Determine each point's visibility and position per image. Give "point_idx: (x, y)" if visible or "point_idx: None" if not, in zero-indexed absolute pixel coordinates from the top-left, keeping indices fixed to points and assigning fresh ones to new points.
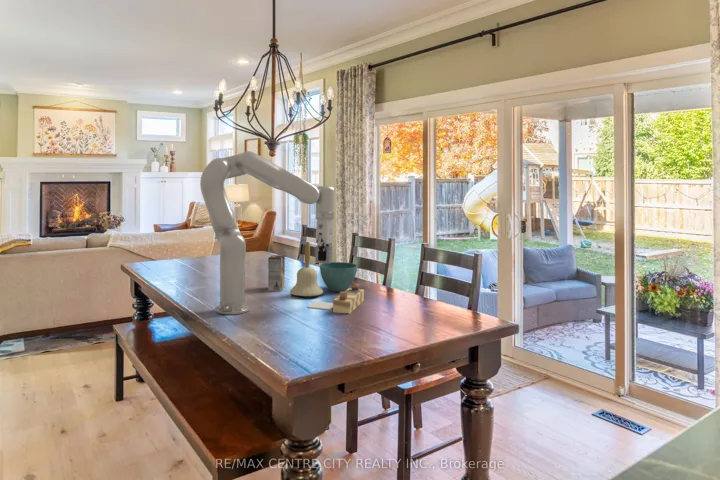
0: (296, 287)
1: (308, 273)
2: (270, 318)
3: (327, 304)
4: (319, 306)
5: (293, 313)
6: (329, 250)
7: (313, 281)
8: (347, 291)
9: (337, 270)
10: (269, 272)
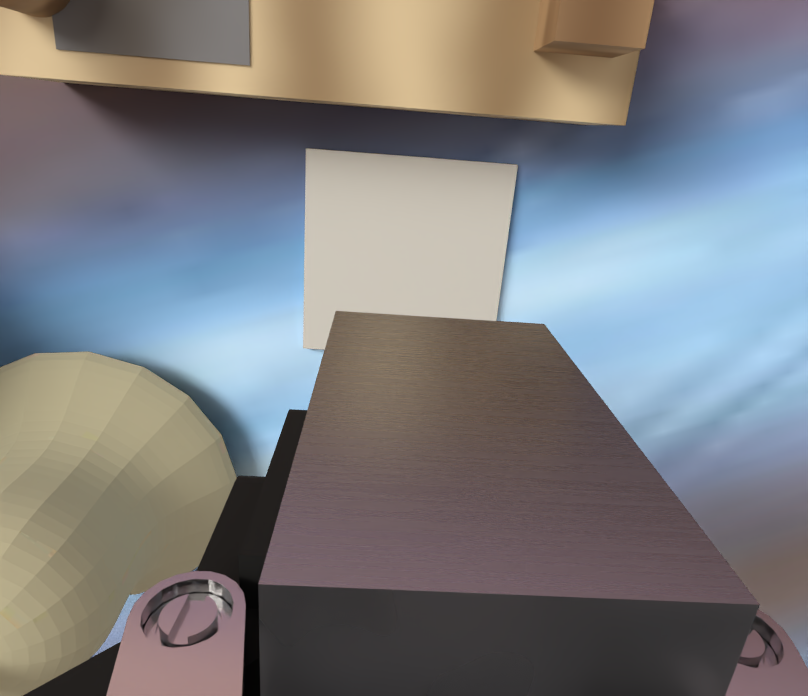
0: (164, 566)
1: (74, 579)
2: (797, 491)
3: (370, 227)
4: (456, 274)
5: (662, 401)
6: (666, 491)
7: (77, 479)
8: (182, 51)
9: None
10: None
